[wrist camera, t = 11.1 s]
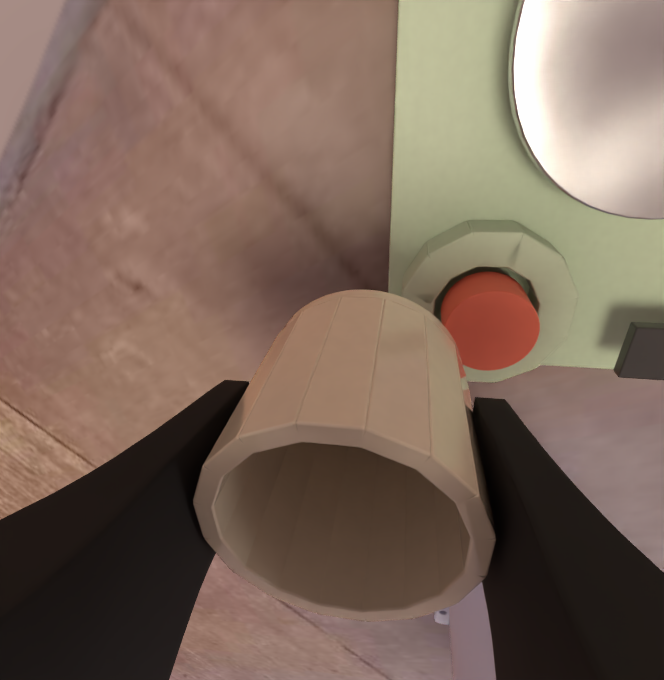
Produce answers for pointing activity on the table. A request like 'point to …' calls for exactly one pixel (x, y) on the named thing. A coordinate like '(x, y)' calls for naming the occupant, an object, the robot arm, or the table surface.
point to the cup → (353, 466)
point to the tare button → (490, 320)
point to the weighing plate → (596, 118)
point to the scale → (502, 198)
